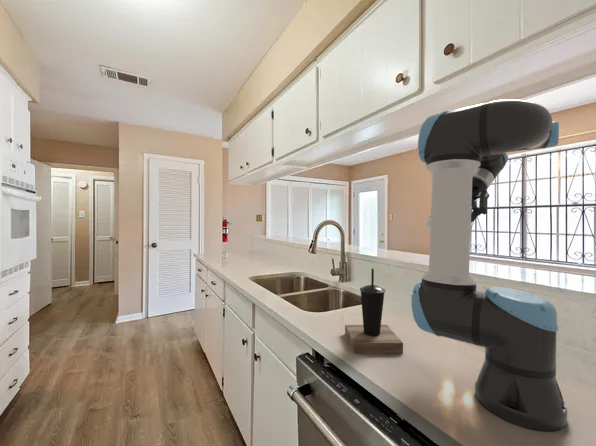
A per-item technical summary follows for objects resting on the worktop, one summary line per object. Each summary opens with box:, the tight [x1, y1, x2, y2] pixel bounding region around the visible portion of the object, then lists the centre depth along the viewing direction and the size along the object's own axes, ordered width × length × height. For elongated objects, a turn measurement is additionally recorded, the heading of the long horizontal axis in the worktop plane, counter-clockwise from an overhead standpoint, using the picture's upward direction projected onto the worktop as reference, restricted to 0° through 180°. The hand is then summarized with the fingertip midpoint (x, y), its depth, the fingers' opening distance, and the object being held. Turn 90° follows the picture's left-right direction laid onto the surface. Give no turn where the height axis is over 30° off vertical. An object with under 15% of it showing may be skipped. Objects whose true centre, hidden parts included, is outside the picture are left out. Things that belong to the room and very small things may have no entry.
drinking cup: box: [359, 268, 386, 336], centre depth 89 cm, size 8×8×20 cm
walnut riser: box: [344, 324, 404, 355], centre depth 90 cm, size 14×14×3 cm
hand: (443, 227), depth 97 cm, fingers open, 13 cm apart
